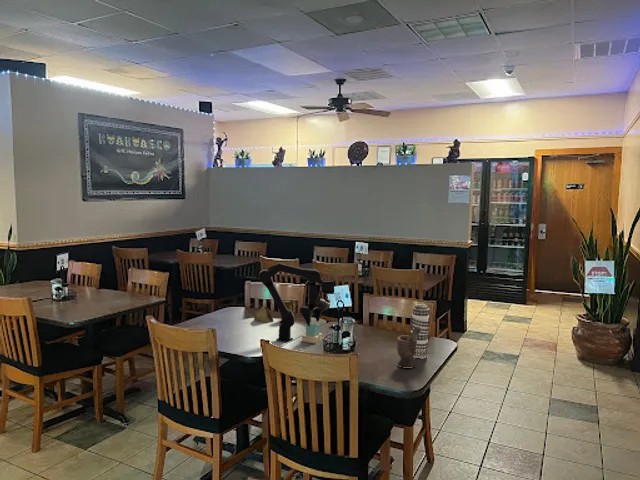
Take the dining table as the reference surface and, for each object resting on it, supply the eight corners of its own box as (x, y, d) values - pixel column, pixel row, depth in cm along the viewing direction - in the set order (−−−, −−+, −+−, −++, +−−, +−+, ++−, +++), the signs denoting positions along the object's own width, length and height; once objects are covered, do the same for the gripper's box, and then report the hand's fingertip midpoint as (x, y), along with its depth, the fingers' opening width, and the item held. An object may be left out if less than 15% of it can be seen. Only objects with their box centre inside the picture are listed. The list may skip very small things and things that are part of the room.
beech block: (316, 344, 244) (316, 337, 243) (302, 342, 247) (302, 335, 246) (322, 339, 251) (322, 333, 251) (308, 337, 254) (308, 331, 254)
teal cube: (314, 336, 245) (314, 326, 244) (306, 334, 247) (306, 325, 247) (319, 334, 249) (319, 324, 249) (311, 332, 252) (311, 323, 251)
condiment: (287, 319, 288) (288, 299, 287) (296, 322, 281) (296, 302, 280) (277, 320, 283) (278, 300, 282) (286, 324, 277) (286, 303, 276)
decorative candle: (414, 351, 236) (416, 301, 234) (431, 356, 230) (434, 305, 228) (404, 356, 229) (407, 304, 227) (422, 360, 223) (425, 308, 221)
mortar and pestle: (424, 367, 215) (427, 324, 212) (416, 373, 208) (418, 328, 206) (401, 361, 221) (403, 319, 219) (392, 366, 215) (394, 323, 212)
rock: (248, 317, 281) (259, 318, 274) (255, 304, 284) (265, 305, 277) (261, 325, 287) (271, 327, 280) (267, 312, 291) (277, 314, 283)
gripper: (318, 299, 234) (317, 330, 236) (336, 292, 251) (335, 321, 252) (299, 296, 240) (298, 326, 241) (317, 290, 256) (316, 318, 258)
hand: (313, 323), depth 248 cm, fingers open, 9 cm apart
